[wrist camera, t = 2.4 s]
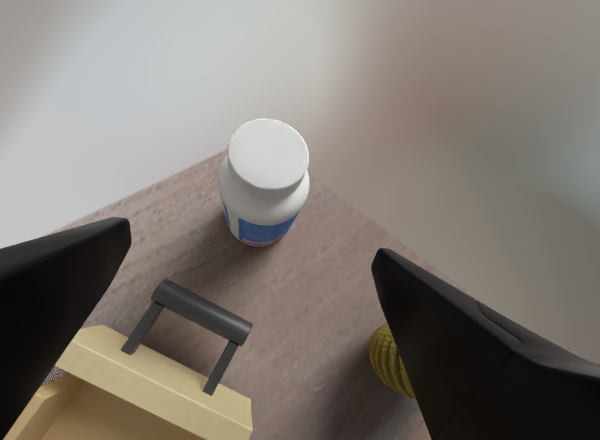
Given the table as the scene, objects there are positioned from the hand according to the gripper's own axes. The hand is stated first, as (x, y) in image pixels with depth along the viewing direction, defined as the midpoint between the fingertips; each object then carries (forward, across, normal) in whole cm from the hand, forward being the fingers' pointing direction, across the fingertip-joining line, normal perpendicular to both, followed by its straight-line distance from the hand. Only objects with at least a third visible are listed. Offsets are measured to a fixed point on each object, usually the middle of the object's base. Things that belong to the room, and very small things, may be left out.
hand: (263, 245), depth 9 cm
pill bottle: (+12, 0, +5) cm, 12 cm away
